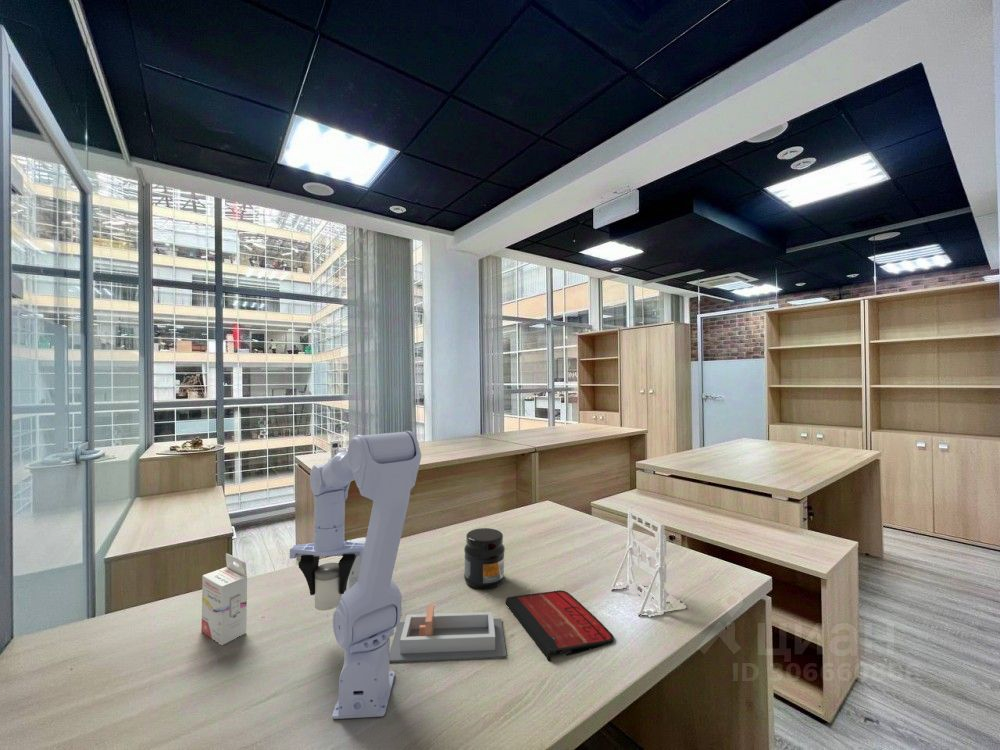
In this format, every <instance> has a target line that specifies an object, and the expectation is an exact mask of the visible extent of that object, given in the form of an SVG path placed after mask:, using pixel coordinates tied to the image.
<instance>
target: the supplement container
mask: <svg viewBox="0 0 1000 750" xmlns="http://www.w3.org/2000/svg"><path fill="white" fill-rule="evenodd" d="M465 537H466V543H465V545H464V549H463V550H464V573H463V577H464V581H465V582H466V584H467V585H469V586H470V587H472V588H474V589H480V590H489V588H490V589H494V588H496V587H498V586H499V585H501V584H502V583H503V582H504V579H505V550H506V548H505V545H504V535H503V533H502V531H500V530H498V529H494V528H489V527H488V528H487V527H484V528H483V527H479V528H474V529H472V530H470V531H468V532H467V533H466V536H465ZM493 587H494V588H493Z"/></svg>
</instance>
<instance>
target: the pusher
mask: <svg viewBox="0 0 1000 750" xmlns="http://www.w3.org/2000/svg"><path fill="white" fill-rule="evenodd" d="M426 614H427V615H426V620H425V625H420V627H419V636H433V631H434V614H435V604H428V605H427V609H426Z"/></svg>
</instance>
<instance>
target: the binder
mask: <svg viewBox="0 0 1000 750" xmlns="http://www.w3.org/2000/svg"><path fill="white" fill-rule="evenodd" d="M506 605H507V606H508V607H509V608H508V607H507V606H506ZM505 606H506V607H507V608H508V609H509V611H510V610H511V611H510V612H511V614H512V613H513V614H512V615H513V616H514V617H515V619H516V620H517V621H518V623H519V624H520V625H521V627H522V628H523V630H524V631H525V632H526V634H528V636H529V638H531V640H532V641H533V642H534V643H535V645H536V647H537V648H538V649H539V650H540V651H541V653H542V654H543V656H544V657H545V658H546V660H547V662H550V661H551V653H556V654H562V653H564V652H567V651H569V652H567V653H566V654H565V657H567V656H569V657H570V656H572V655H577V654H579V653H580V654H581V653H584V652H587V651H591V650H594V649H599V648H602V647H604V646H608V645H612V644H613V643H614V640H615V636H614V635H613V633H611V631H609V629H608V628H606V626H605V625H604V624H603V623H602V621H600V620H599V619H598V618H597V617H596V616H595V615H594V614H593V613H592V612H590V611H589V609H588V608H586V607H585V606H584V605H583V604H582V603H581V602H580V601H578V600H577V599H576V598H575V597H574V596H573V595H572V594H571V593H570V592H568V591H565V590H552V591H546V592H544V591H543V592H535V593H529V594H521V595H513V596H508V597H506V598H505Z"/></svg>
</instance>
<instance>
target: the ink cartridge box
mask: <svg viewBox="0 0 1000 750" xmlns="http://www.w3.org/2000/svg"><path fill="white" fill-rule="evenodd" d="M225 561H226V566H225V567H221V568H220V569H217V570H214V571H211V572H208V573H205V574H202V578H201V579H202V588H201V589H202V592H201V593H202V595H201V631H200V632H201V633H202V634H204V635H206V636H207V637H209V638H210V639H211V640H213V641H214V640H215V641H214V642H216V643H217V642H218V644H219V645H221V646H224V645H226V644H228V643H230V642H232V641H233V640H235V639H238V638H239V636H240V637H241V636H243V635H245V634H247V615H248V614H247V611H248V609H247V607H248V606H247V605H248V576H247V564H246V563H247V562H246V561H244V560H242V559H240V558H238V557H236V556H234V555H233V554H232V555H231V554H229V553H228V552H227V553H225ZM234 563H236V564H237V565H236V564H234ZM237 637H238V638H237Z"/></svg>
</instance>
